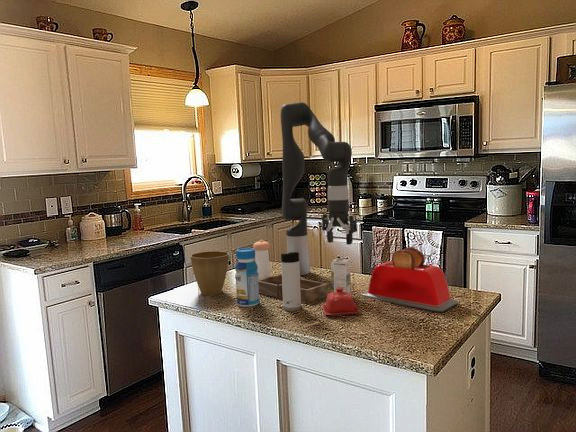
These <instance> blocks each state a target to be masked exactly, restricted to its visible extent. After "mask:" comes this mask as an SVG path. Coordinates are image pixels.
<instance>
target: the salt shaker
mask: <svg viewBox="0 0 576 432" xmlns="http://www.w3.org/2000/svg"><path fill="white" fill-rule="evenodd" d="M270 244H271V243H269V242H268V241H264V240H263V239H260V240H259V241H256V242H255V243H253V245H252V248H253V249H255V260H254V261H255V262H256V264H257V266H258V269H257V272H258V274H259V277H258V280H261V279H264V278H268V277H272V273H271V272H272V268H271V262H270V257H269V254H270V253H269V250H270V249H271V245H270Z"/></svg>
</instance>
